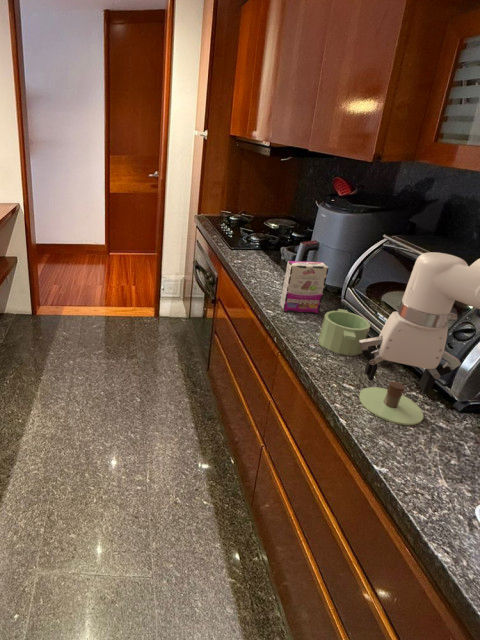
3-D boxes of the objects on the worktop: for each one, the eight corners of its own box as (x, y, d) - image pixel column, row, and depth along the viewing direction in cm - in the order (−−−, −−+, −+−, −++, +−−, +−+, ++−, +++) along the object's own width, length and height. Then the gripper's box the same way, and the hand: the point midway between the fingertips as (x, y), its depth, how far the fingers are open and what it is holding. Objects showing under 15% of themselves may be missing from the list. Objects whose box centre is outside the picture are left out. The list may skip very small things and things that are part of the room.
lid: (413, 399, 89) (422, 376, 86) (429, 434, 79) (439, 410, 77) (354, 385, 93) (361, 364, 91) (362, 417, 83) (370, 394, 81)
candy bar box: (313, 306, 131) (324, 261, 125) (318, 313, 126) (330, 267, 120) (278, 304, 133) (287, 259, 127) (282, 311, 128) (292, 265, 122)
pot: (357, 336, 114) (364, 310, 110) (367, 366, 100) (375, 338, 97) (316, 328, 118) (322, 304, 114) (320, 356, 104) (327, 329, 101)
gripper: (469, 314, 77) (439, 383, 84) (367, 298, 84) (347, 363, 90) (486, 332, 71) (451, 406, 77) (374, 313, 77) (351, 382, 84)
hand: (395, 383), depth 84 cm, fingers open, 9 cm apart
